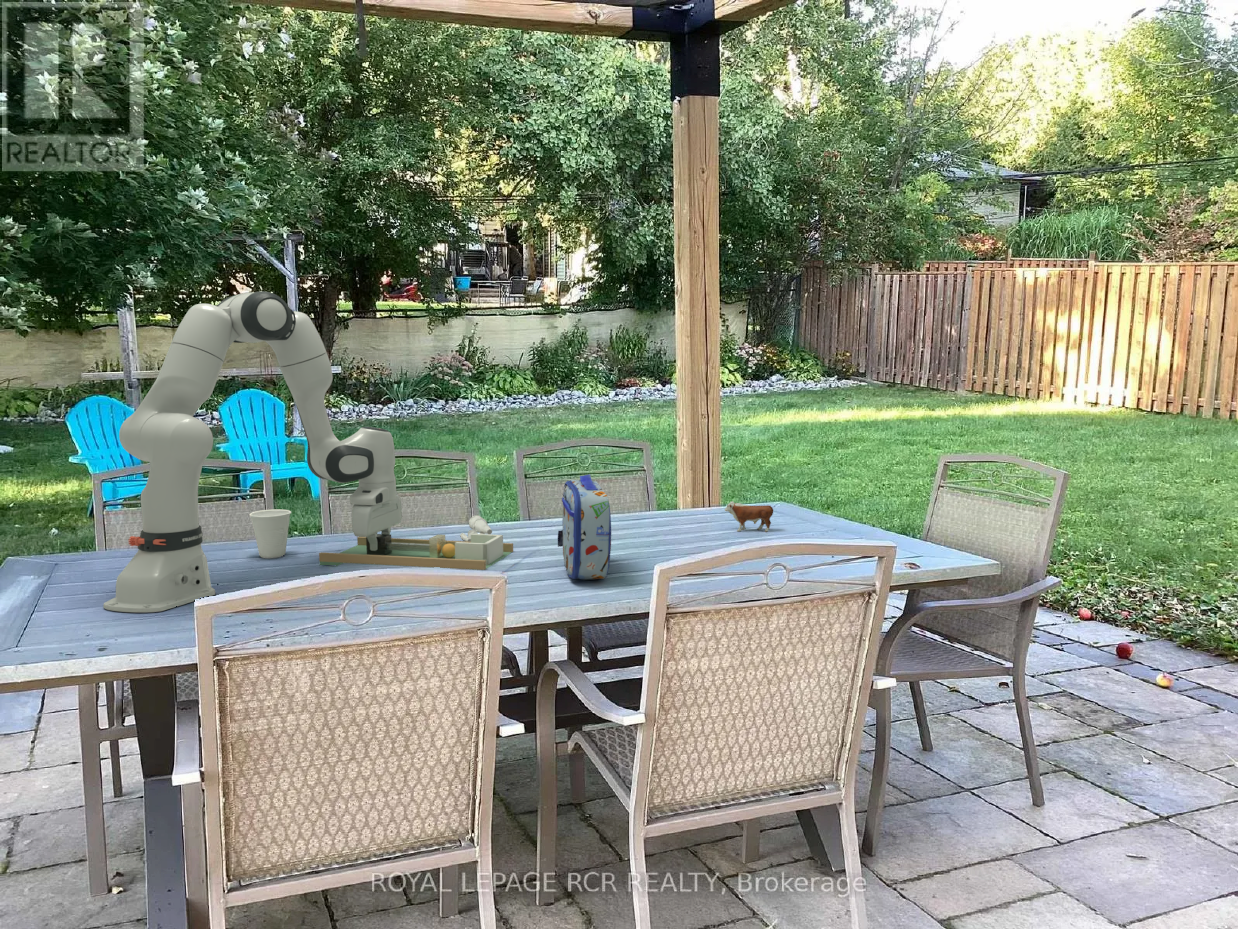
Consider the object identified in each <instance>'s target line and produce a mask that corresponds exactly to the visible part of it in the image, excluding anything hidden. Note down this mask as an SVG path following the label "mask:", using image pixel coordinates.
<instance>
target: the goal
mask: <svg viewBox="0 0 1238 929" xmlns="http://www.w3.org/2000/svg"><path fill="white" fill-rule="evenodd" d="M503 543H504V535H502V534H490V535H489V534H480V533H478V534H471V543H467V542H456V543H455V559H467V560H486V565H489V564H490V563H492V562H493V561H495V560H496V559H498V558H500V557H501V556H503Z"/></svg>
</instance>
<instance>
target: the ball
mask: <svg viewBox="0 0 1238 929" xmlns="http://www.w3.org/2000/svg"><path fill="white" fill-rule="evenodd" d="M442 554H443V555H444V556H445V557H446V558H452V557H454V556H455V546H454V545H453V544H446V545H444V546H443V548H442Z"/></svg>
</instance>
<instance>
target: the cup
mask: <svg viewBox="0 0 1238 929" xmlns="http://www.w3.org/2000/svg"><path fill="white" fill-rule="evenodd" d="M291 514H292V511H291V510H289V509H279V508H278V509H263V510H256V511H253V512H250V513H249V514H248V515H249V517H250V521H251V525H252V528H253V531H254V532H253V533H254V537H255V541H256V545H257V546H256V547H257V551H258V554H259V557H260V558H262V559H277V558H278V559H279V558H282V557H284V556H285V555H286V553H287V552H286V550H287V543H288V535H289V534H288V533H289V527H290V526H289V525H290V518H291ZM283 555H284V556H283ZM281 556H282V557H281Z"/></svg>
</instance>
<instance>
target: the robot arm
mask: <svg viewBox="0 0 1238 929" xmlns="http://www.w3.org/2000/svg"><path fill="white" fill-rule="evenodd" d="M262 342H265V343H267V345H269V346H270V348H271V350H273V353H274V354H275V357H276V361H277V362H278V363H277V364H278V366H279V369H280V372H281V373H282V376H283V378H284V382H285V383H286V385H287V387H288V389H289V392H290V393H291V396H292V398H293V401H294V403H295V406H296V410H297V412H298V415H299V419H300V421H301V425H302V428H303V431H304V435H305V438H306V443H307V448H306V449H307V450H306V462H307V466H308V469H309V470H310V472H311V473H312V474H313V475H314V476H315V477H317V478H319V479H322V480H329V481H332V482H336V483H339V484H347V483H351V482H356V481H358V486H357V488H356V490H355V491H353V493H352V494H351V495H350V496H349V504H350V505H352V508H351V529H352V534H353V535H354V537H356V538H357V537H367V539H368V541H369V543H370V550H371V551H376V550H378V549H379V543H378V542H377V538H376V537H377V534H378V533H380V532H381V533H380V534H391V531H392V530H391V528H392V527H395V526H396V525H398V524H401V523H402V521H403V509H402V508H403V507H402V500H401V497H400V495H399V494H398V491H397V482H396V475H395V465H396V452H395V443H394V438H393V435H392V433H391V432H390V431H389V430H387V429H384V428H380V427H376V426H375V427H374V426H362V427H360V428H359V429H358V430H357V431H355V433H353V434H351V435H350V436H349V437H346V438H345V439H342V440H339V439H338V438H337V437H336V435H335V433H334V432H333V429H332V426H331V422H330V418H329V415H328V413H327V410H326V405H325V397H326V396H325V395H326V393H327V391H328V389H329V388H330V387H331V385H332V382H333V379H334V376H333V370H332V365H331V361H330V358H329V356H328V352H327V350H326V347H325V344H324V342H323V340H322V338H321V336H320V334H319V332H318V330H317V328H316V326H315V324H314V323H313V321H312V320H311V318H310V316H308V315H307V314H306V313H304V312H301V311H295V310H294V311H293V309H291V308H290V307H289V305H288V304H287V303H286V301H285V300H284V299H283V298H282V297H281V296H279V295H277V294H275V293H273V292H270V291H263V290H262V291H261V290H260V291H255V292H253V291H252V292H251V291H250V292H249V291H248V292H243V293H242V292H241V293H239V294H237V295H236V294H235V295H232V296H228V297H227V298H226V297H225V298H224V299H223V300H221V301H220V302H219V303H218V304H217V305H214V304H211V303H198V304H197V303H196V304H194V305H193V306H190V308H189V309H188V310H187V312H186V314H184V317H183V318H182V320H181V322H180V323H179V325H178V327H177V328H176V331H175V333H174V335H173V338H172V340H171V343H170V345H169V348H168V350H167V353H166V355H165V358H164V360H163V363H162V366H161V367H160V369H159V370H160V371H159V373H158V375H157V378H156V380H155V381H154V382H153V384H152V386H151V387H150V389H149V391H148V392H147V394H146V395H145V396H144V398H143V400H142V401H141V402H140V404H139V405H138V406H137V408H136V409H135V411H134V412H133V413H132V414H131V415H129V416H128V417H127V418H125V420H124V421H123V422H122V424H121V426H120V429H119V431H118V432H119V434H118V435H119V436H118V438H119V443H120V444H121V446H122V448H123V450H125V451H126V452H127V454H130V455H131V456H133V457H134V458H136V459H138V460H139V461H140V460H141V461H143V462H148V463H149V471H148V477H147V481H146V484H145V487H144V488H143V489H142V490H141V494H140V508H141V509H140V510H141V523H142V530H141V531H140V535H139V536H133V535H131V536H130V537H129V538H128V540H127V542H128V545H129V546H130V547H134V546H137V549H138V550H137V551H136V553H135V554H134V556H133V557H132V558H131V559H130V561H129V562H128V563H127V565H126V566H125V567H124V568H123V569H122V571H121V572H120V573H119V574H118V576H117V577H116V580H115V581H116V583H115V597H113V598H111V599H109V600H107V601H105V602H103V606H102V608H103V609H105V610H108V611H113V612H123V613H155V612H156V613H157V612H163V611H166V610H169V609H173V608H175V607H176V606H177V607H180V606H183V605H186V604H189V603H192V602H195V601H194V600H195V599H198V598H200V597H205V596H209V597H212V596H214V595H216V589H215V588H213V587H212V583H211V575H210V572H209V564H208V559H207V556H206V554H205V552H204V551H203V548H202V543H203V530H202V526H201V525H200V517H199V516H200V515H199V514H200V513H199V485H200V484H199V483H200V477H201V473H202V468H203V464H204V462H205V460H206V459H207V457H208V456H209V455H210V454H211V452H212V449H213V446H214V436H213V432H212V430H211V429H210V426H208V425H207V424H206V423H205V422H204V421H202V420H201V419H198V418H196V417H194V415H195V413H197V410H199V408H200V407H201V406H202V405H203V403H205V402H206V401H207V400H208V399H210V397H212V395H213V391H214V389H215V386H216V384H217V380H218V378H219V376H220V372H221V370H222V367H223V364H224V362H225V359H226V356H227V352H228V350H229V348H230V347H231V345H232V344H233V343H234V344H235V343H236V344H237V343H238V344H239V343H241V344H243V343H249V344H255V343H256V344H257V343H262Z"/></svg>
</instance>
